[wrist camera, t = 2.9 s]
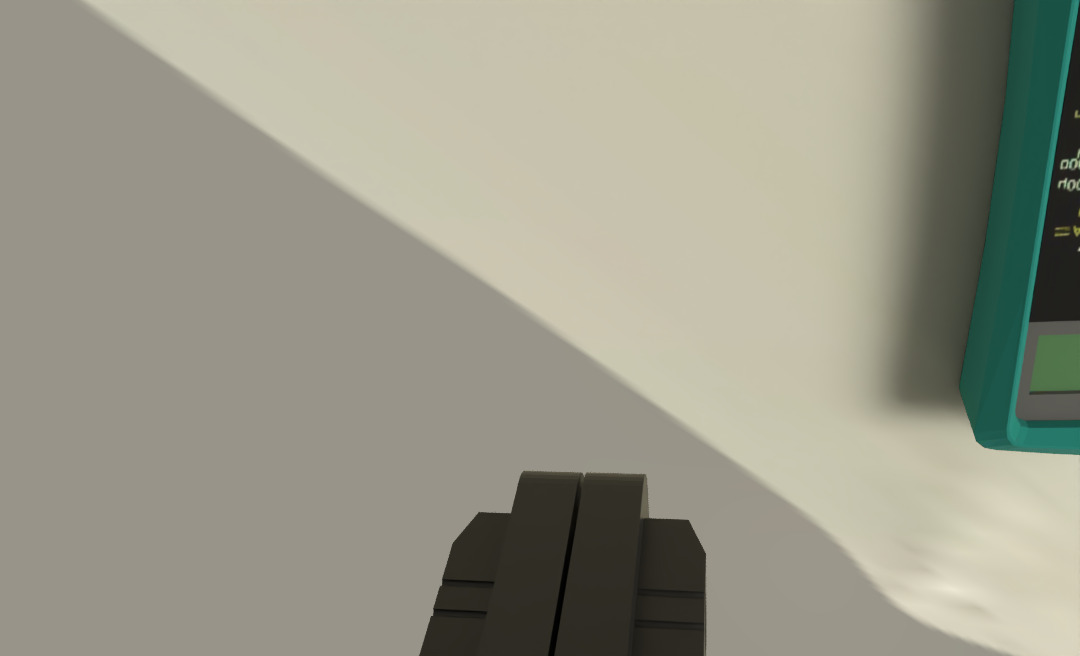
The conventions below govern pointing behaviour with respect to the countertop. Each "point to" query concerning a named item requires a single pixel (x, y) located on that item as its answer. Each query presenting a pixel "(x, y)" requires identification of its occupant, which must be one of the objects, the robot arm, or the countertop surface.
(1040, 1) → the digital multimeter
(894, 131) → the countertop surface
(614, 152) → the countertop surface
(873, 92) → the countertop surface
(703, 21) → the countertop surface
